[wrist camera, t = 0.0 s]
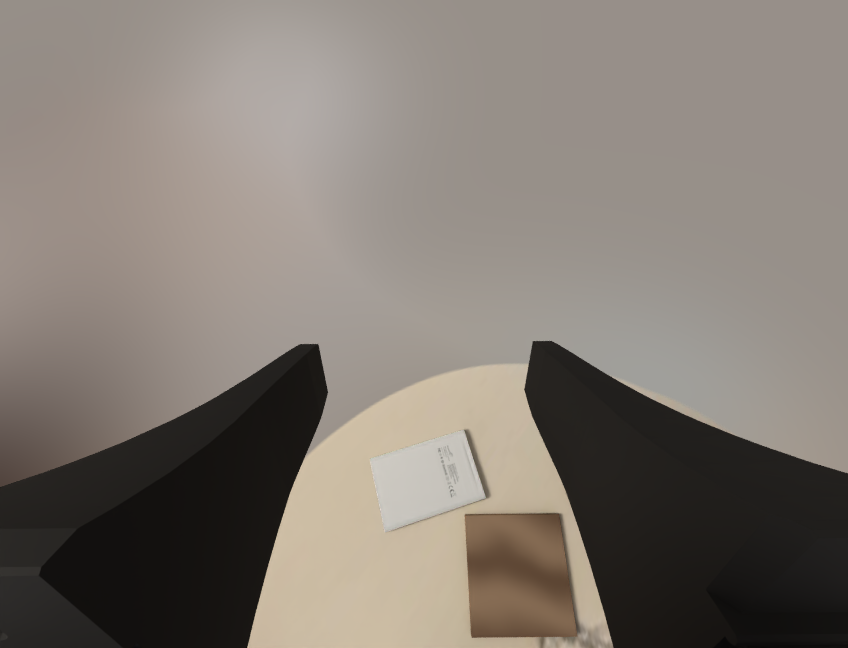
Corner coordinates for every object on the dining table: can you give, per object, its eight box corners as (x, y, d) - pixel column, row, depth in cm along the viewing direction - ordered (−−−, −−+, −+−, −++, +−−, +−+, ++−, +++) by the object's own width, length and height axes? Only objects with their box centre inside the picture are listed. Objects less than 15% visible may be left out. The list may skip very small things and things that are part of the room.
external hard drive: (371, 458, 40) (462, 429, 41) (386, 529, 37) (484, 496, 38) (369, 458, 38) (464, 429, 39) (384, 533, 35) (486, 499, 36)
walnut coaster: (574, 633, 33) (577, 636, 32) (471, 634, 33) (471, 637, 32) (556, 513, 37) (559, 514, 36) (464, 514, 37) (465, 515, 36)
